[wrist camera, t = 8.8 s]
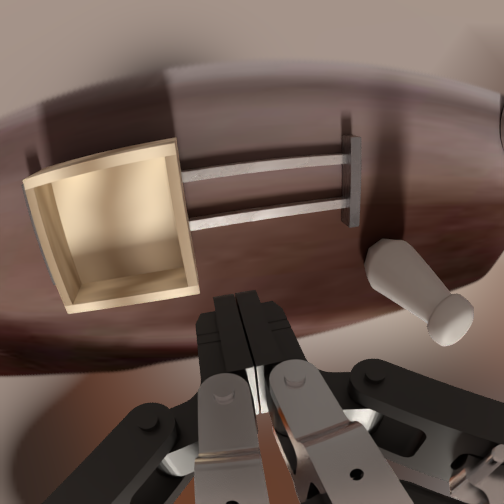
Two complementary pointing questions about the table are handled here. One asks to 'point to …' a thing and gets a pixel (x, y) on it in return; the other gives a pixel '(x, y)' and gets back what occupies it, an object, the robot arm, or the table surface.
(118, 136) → the table surface
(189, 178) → the rail
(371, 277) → the salt shaker
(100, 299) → the wooden tray
